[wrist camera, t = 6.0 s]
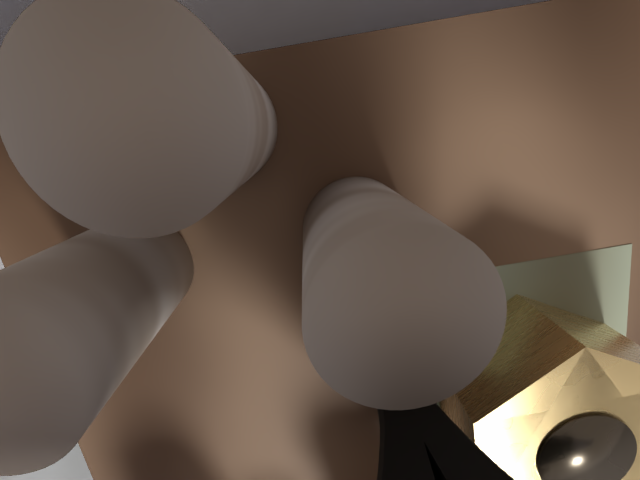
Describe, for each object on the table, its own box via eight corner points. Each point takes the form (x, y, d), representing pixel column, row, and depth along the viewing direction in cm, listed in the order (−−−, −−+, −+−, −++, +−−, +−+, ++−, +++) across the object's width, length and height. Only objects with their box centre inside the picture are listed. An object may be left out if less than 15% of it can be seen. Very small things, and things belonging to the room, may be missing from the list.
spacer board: (187, 618, 14) (107, 954, 8) (-6, 110, 9) (-532, 73, 3) (590, 552, 14) (791, 846, 8) (614, 3, 9) (1155, -221, 3)
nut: (447, 471, 11) (487, 568, 8) (428, 310, 9) (469, 371, 7) (602, 443, 11) (686, 532, 8) (605, 277, 9) (708, 326, 7)
